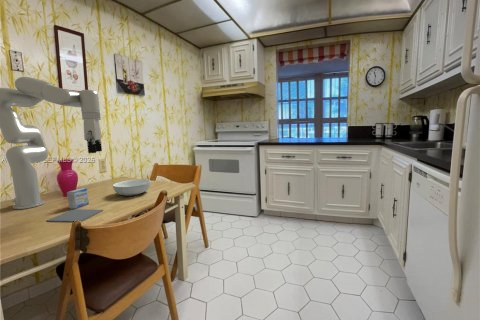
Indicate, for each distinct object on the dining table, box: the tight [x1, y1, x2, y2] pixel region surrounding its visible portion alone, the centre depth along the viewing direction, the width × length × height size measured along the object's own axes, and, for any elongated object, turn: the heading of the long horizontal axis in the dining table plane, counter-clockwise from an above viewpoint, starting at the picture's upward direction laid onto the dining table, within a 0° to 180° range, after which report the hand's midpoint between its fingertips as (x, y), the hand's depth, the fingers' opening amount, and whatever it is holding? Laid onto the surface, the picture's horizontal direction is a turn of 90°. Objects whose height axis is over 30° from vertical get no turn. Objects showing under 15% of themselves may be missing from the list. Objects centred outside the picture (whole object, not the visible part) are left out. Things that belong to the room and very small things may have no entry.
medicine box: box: [66, 187, 90, 210], centre depth 120 cm, size 8×4×9 cm, turn 168°
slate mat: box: [45, 208, 104, 223], centre depth 107 cm, size 16×14×1 cm
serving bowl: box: [112, 178, 152, 197], centre depth 142 cm, size 21×21×7 cm
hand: (95, 152), depth 116 cm, fingers open, 9 cm apart
